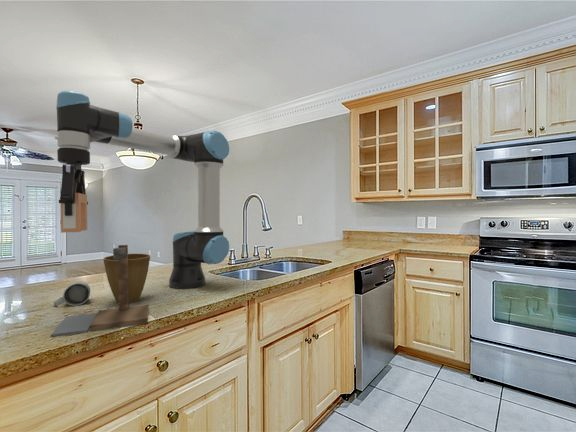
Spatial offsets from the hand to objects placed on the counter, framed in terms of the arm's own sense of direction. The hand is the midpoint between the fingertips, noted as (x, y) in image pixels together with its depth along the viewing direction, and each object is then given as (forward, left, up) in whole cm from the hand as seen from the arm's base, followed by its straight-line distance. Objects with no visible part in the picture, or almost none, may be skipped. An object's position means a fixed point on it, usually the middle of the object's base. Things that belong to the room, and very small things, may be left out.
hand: (74, 227), depth 87 cm
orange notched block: (0, 0, -1) cm, 1 cm away
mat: (0, 0, -28) cm, 28 cm away
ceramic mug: (+6, -25, -28) cm, 38 cm away
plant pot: (-12, -21, -28) cm, 37 cm away
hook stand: (-12, 0, -28) cm, 30 cm away
